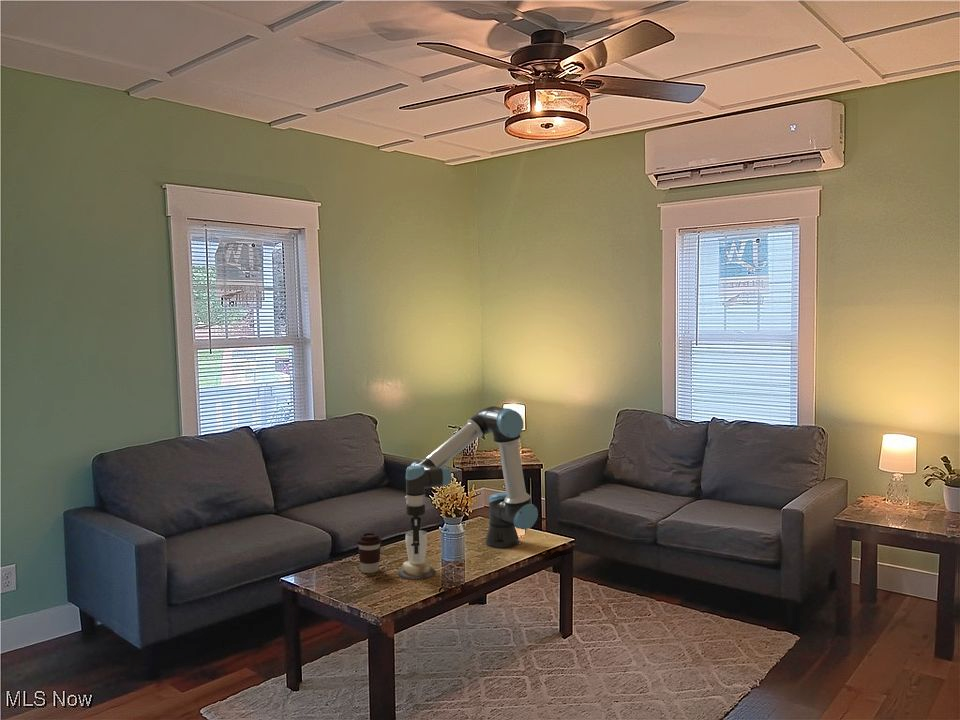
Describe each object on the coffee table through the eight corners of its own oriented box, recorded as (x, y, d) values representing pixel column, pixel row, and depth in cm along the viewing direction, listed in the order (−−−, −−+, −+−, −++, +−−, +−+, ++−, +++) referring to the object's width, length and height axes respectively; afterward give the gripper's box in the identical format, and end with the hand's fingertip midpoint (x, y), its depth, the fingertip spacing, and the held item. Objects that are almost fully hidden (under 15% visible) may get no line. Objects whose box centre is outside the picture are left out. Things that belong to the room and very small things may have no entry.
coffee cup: (385, 567, 328) (385, 532, 327) (376, 575, 318) (375, 539, 317) (363, 565, 330) (363, 530, 329) (353, 573, 321) (353, 537, 320)
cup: (403, 560, 325) (402, 531, 324) (424, 557, 328) (423, 529, 327) (409, 566, 316) (409, 537, 315) (431, 563, 320) (430, 534, 319)
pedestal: (423, 564, 331) (422, 555, 331) (442, 574, 319) (441, 564, 318) (391, 571, 323) (391, 562, 322) (409, 582, 310) (409, 572, 310)
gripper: (406, 497, 331) (407, 546, 332) (405, 512, 306) (406, 566, 307) (424, 496, 331) (425, 546, 333) (425, 512, 307) (426, 565, 308)
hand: (416, 555), depth 320 cm, fingers open, 13 cm apart
